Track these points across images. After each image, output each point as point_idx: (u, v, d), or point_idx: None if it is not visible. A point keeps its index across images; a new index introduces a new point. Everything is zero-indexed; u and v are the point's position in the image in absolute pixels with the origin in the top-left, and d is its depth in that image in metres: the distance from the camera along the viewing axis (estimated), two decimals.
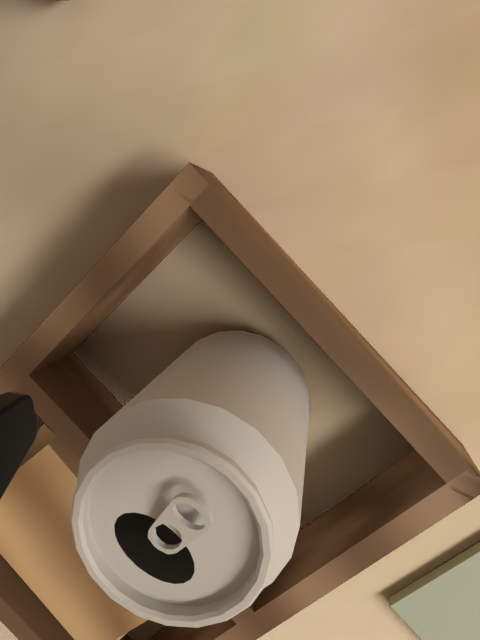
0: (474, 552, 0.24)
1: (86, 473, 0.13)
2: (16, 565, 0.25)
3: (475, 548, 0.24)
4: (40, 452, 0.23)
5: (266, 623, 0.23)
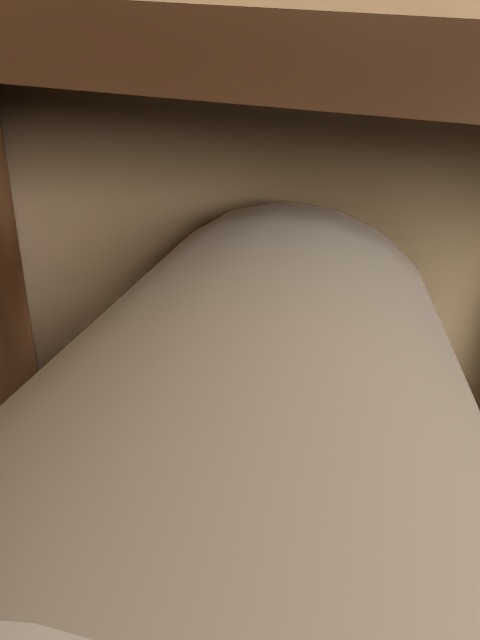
0: None
1: None
2: None
3: None
4: None
5: None
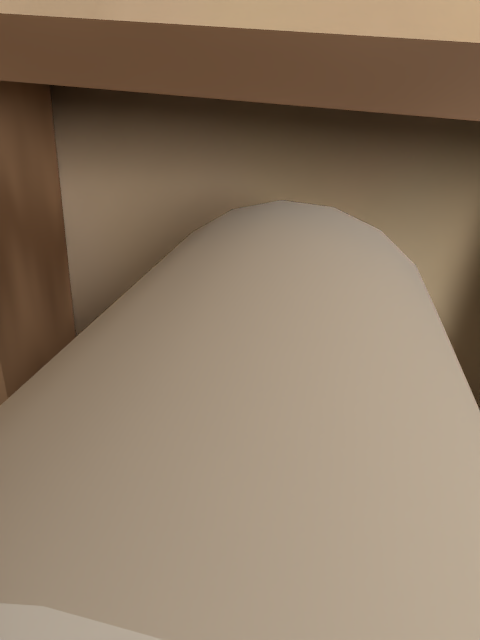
0: None
1: None
2: None
3: None
4: None
5: None
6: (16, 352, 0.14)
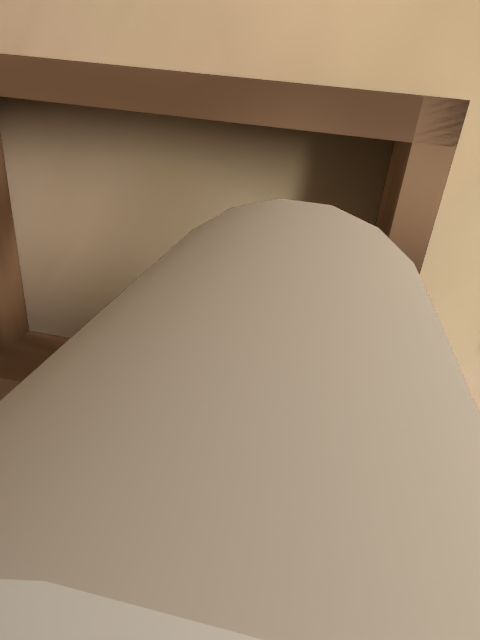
0: None
1: None
2: None
3: None
4: None
5: None
6: None
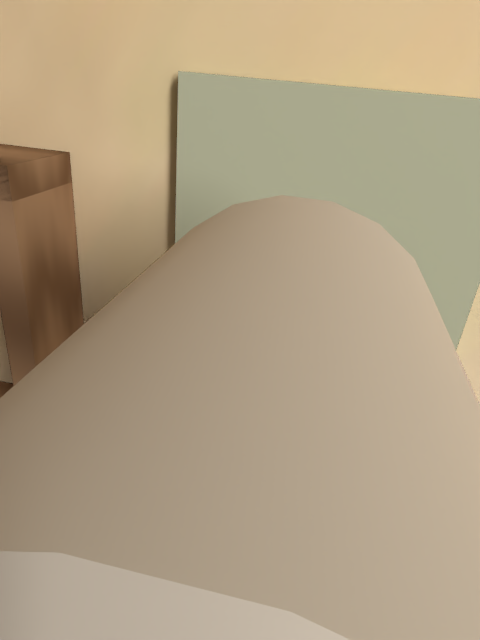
0: None
1: None
2: None
3: None
4: None
5: None
6: None
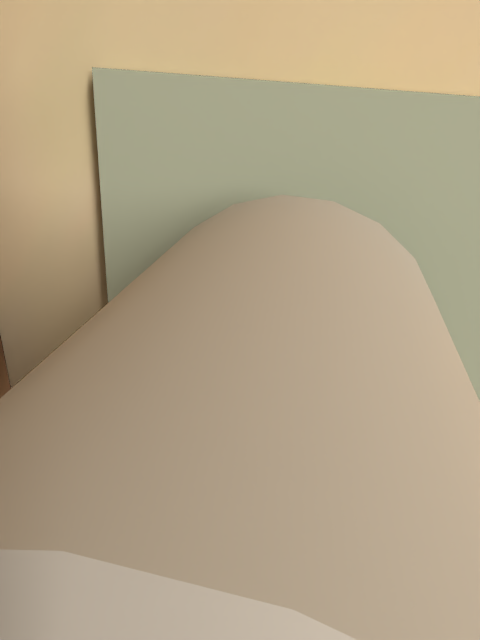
0: (109, 294, 0.15)
1: None
2: None
3: (111, 289, 0.15)
4: None
5: None
6: None
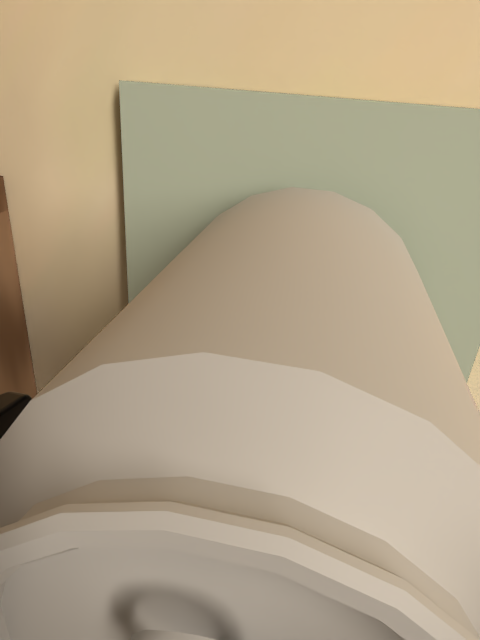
0: (129, 284, 0.17)
1: None
2: None
3: (131, 279, 0.17)
4: None
5: None
6: None
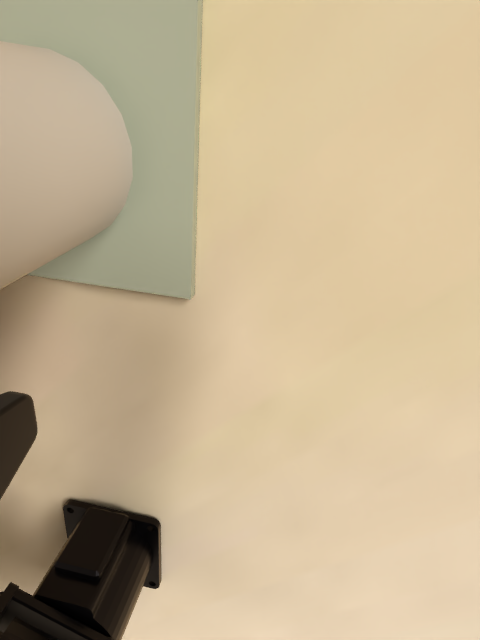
0: None
1: None
2: None
3: None
4: None
5: None
6: None
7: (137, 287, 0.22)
